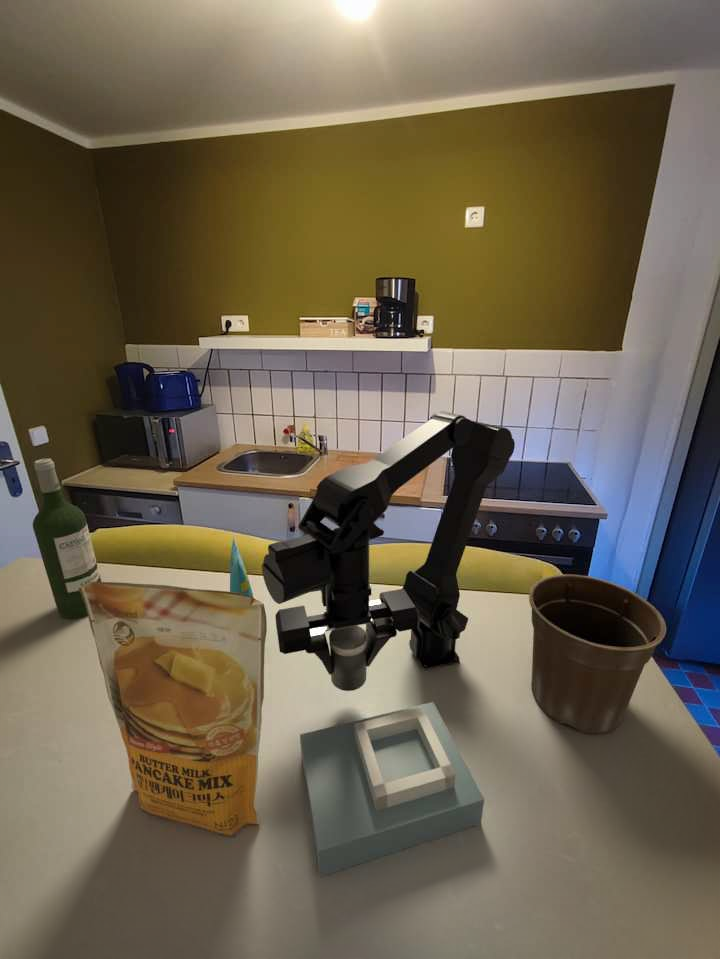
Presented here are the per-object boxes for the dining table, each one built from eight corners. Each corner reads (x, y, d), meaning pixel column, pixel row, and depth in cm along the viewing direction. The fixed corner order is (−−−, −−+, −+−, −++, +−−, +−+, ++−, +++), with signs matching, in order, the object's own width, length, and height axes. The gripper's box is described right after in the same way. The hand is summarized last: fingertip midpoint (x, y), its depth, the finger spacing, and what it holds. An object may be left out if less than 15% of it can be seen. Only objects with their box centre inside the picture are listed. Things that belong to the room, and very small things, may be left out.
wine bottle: (90, 619, 80) (49, 468, 70) (48, 619, 80) (2, 468, 70) (113, 594, 87) (80, 454, 77) (75, 594, 88) (37, 454, 77)
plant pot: (493, 674, 67) (504, 586, 62) (570, 646, 73) (587, 564, 67) (577, 767, 53) (602, 665, 48) (665, 724, 59) (696, 628, 53)
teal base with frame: (431, 724, 59) (434, 690, 57) (480, 823, 47) (486, 786, 45) (301, 757, 54) (299, 722, 52) (319, 877, 43) (317, 838, 41)
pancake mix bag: (148, 752, 55) (102, 564, 46) (286, 788, 51) (268, 588, 41) (108, 806, 49) (45, 602, 39) (261, 852, 45) (232, 635, 35)
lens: (361, 660, 64) (361, 621, 61) (371, 686, 59) (372, 645, 57) (327, 667, 62) (325, 627, 60) (334, 695, 58) (333, 653, 55)
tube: (266, 655, 71) (255, 554, 64) (237, 665, 69) (222, 562, 62) (256, 628, 77) (244, 534, 71) (228, 637, 75) (214, 540, 69)
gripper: (394, 534, 64) (392, 620, 70) (268, 551, 60) (276, 642, 65) (424, 574, 54) (418, 670, 60) (275, 598, 50) (284, 700, 55)
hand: (348, 668), depth 60 cm, fingers closed on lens, 5 cm apart
